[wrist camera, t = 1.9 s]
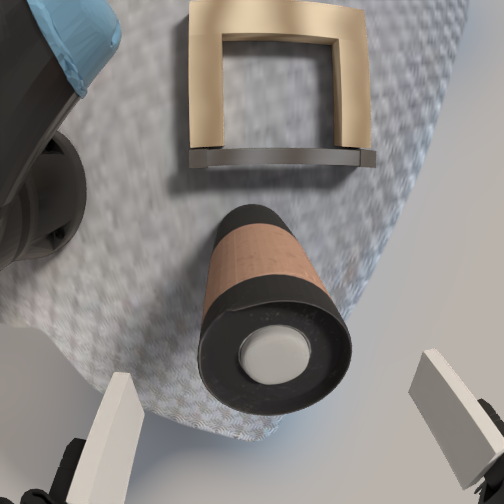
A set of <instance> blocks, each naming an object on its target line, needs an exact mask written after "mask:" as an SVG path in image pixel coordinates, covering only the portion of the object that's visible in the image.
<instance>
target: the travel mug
mask: <svg viewBox="0 0 504 504" xmlns="http://www.w3.org/2000/svg"><path fill="white" fill-rule="evenodd" d="M351 355H352V343H351V337H350V334H349V331H348V329H347V326H346V324H345V323H344V321H343V319H342V317H341V315H340V313H339V312H338V310H337V308H336V306H335V304H334V303H333V301H332V299H331V297H330V295H329V294H328V292H327V290H326V288H325V287H324V285H323V283H322V281H321V280H320V278H319V276H318V274H317V273H316V271H315V269H314V267H313V266H312V264H311V262H310V260H309V259H308V257H307V255H306V253H305V252H304V250H303V248H302V247H301V245H300V243H299V242H298V241H297V239H296V238H295V236H294V235H293V234H292V232H291V231H290V230H289V228H288V227H287V226H286V224H285V223H284V222H283V221H282V219H281V218H280V217H279V216H278V215H277V214H276V213H275V212H274V211H272V210H271V209H269V208H267V207H265V206H262V205H257V204H248V205H243V206H240V207H238V208H236V209H234V210H232V211H231V212H230V213H229V214H227V216H226V217H225V218H224V219H223V221H222V223H221V225H220V227H219V230H218V233H217V237H216V241H215V244H214V248H213V252H212V256H211V260H210V266H209V273H208V280H207V287H206V294H205V302H204V309H203V317H202V325H201V333H200V341H199V346H198V356H197V360H198V369H199V373H200V377H201V379H202V382H203V383H204V385H205V387H206V388H207V390H208V391H209V392H210V393H211V394H212V395H213V396H214V397H215V398H216V399H217V400H218V401H220V402H221V403H223V404H224V405H226V406H228V407H230V408H232V409H234V410H237V411H240V412H243V413H247V414H253V415H262V416H273V415H282V414H288V413H292V412H295V411H299V410H301V409H304V408H307V407H309V406H311V405H313V404H315V403H317V402H318V401H320V400H321V399H323V398H324V397H325V396H327V395H328V394H329V393H331V392H332V391H333V390H334V389H335V388H336V387H337V385H338V384H339V383H340V382H341V380H342V379H343V377H344V376H345V374H346V372H347V370H348V368H349V364H350V361H351Z"/></svg>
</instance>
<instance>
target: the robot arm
mask: <svg viewBox="0 0 504 504" xmlns="http://www.w3.org/2000/svg"><path fill="white" fill-rule="evenodd" d="M120 41H121V26H120V23H119V20H118V18H117V16H116V14H115V13H114V11H113V9H112V8H111V6H110V5H109V4H108V2H107V1H106V0H0V271H1V270H2V269H3V268H5V267H6V266H7V265H9V264H10V263H11V262H13V261H18V260H26V259H35V258H41V257H45V256H47V255H50V254H52V253H53V252H55V251H56V250H58V249H59V248H60V247H62V246H63V245H65V244H66V243H67V242H68V241H69V240H70V239H71V238H72V237H73V235H74V234H75V232H76V231H77V229H78V227H79V225H80V223H81V220H82V217H83V214H84V210H85V205H86V179H85V173H84V169H83V166H82V162H81V160H80V157H79V155H78V153H77V151H76V150H75V148H74V146H73V145H72V144H71V142H70V141H69V140H68V139H67V138H66V137H65V136H64V135H63V134H61V133H60V132H59V131H57V129H58V128H59V126H60V125H61V124H62V122H63V121H64V119H65V118H66V117H67V115H68V114H69V113H70V111H71V110H72V109H73V107H74V106H75V105H76V103H77V102H78V101H79V100H80V98H81V99H83V98H84V97H85V96H86V94H87V88H88V87H89V85H90V84H91V83H92V81H93V80H94V79H95V77H96V76H97V75H98V73H99V72H100V71H101V70H102V68H103V67H104V66H105V65H106V64H107V62H108V61H109V60H110V59H111V58H112V56H113V55H114V54H115V52H116V51H117V49H118V47H119V44H120ZM408 393H409V394H410V396H411V397H412V399H413V401H414V402H415V404H416V406H417V408H418V409H419V411H420V413H421V415H422V416H423V418H424V420H425V421H426V423H427V425H428V426H429V428H430V430H431V432H432V434H433V435H434V437H435V439H436V441H437V442H438V444H439V446H440V448H441V450H442V451H443V453H444V455H445V457H446V459H447V460H448V462H449V464H450V466H451V468H452V470H453V472H454V474H455V476H456V477H457V479H458V481H459V483H460V485H461V487H462V489H463V490H465V489H467V488H468V487H470V486H472V485H474V484H476V483H477V482H478V481H479V480H480V479H481V478H482V477H483V476H484V478H485V481H484V482H483V483H482V484H481V485H480V486H479V487H478V488H477V489H476V490H475V492H474V494H476V493H477V492H478V491H479V490H481V489H482V490H481V492H480V493H479V495H480V498H479V502H478V504H504V422H503V421H502V420H500V417H499V416H498V414H496V412H495V410H494V409H493V408H492V406H491V405H490V404H489V403H487V402H486V401H485V400H483V399H479V400H476V399H475V397H474V396H473V395H472V393H471V392H470V391H469V389H468V388H467V387H466V386H465V384H464V383H463V382H462V380H461V379H460V378H459V377H458V375H457V374H456V373H455V372H454V370H453V369H452V368H451V367H450V365H449V364H448V363H447V362H446V360H445V359H444V358H443V357H442V355H441V354H440V353H439V352H438V351H437V349H436V348H435V349H430V350H426V351H423V353H422V356H421V359H420V362H419V365H418V368H417V371H416V374H415V376H414V379H413V381H412V384H411V387H410V389H409V392H408ZM144 415H145V414H144V411H143V409H142V406H141V403H140V401H139V398H138V395H137V392H136V389H135V386H134V384H133V381H132V378H131V375H130V373H120V372H114V373H113V376H112V378H111V380H110V383H109V385H108V387H107V390H106V392H105V395H104V397H103V399H102V402H101V404H100V407H99V409H98V412H97V414H96V417H95V420H94V423H93V425H92V428H91V430H90V433H89V435H88V438H87V440H84V439H78V438H74V439H73V440H72V441H71V442H70V444H69V445H67V447H66V450H65V452H64V455H63V459H62V460H61V462H60V467H58V470H57V473H56V475H55V478H54V481H53V484H52V486H51V489H50V492H49V494H47V493H46V492H44V491H43V490H40V489H30V490H28V491H27V492H25V493H24V495H23V496H22V497H21V502H20V504H124V502H125V497H126V492H127V487H128V483H129V478H130V473H131V469H132V465H133V460H134V456H135V451H136V447H137V443H138V439H139V435H140V431H141V427H142V423H143V419H144ZM0 504H14V503H12V502H11V501H10V500H8V499H7V498H4V497H0Z"/></svg>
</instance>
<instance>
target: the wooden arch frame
mask: <svg viewBox="0 0 504 504" xmlns="http://www.w3.org/2000/svg"><path fill="white" fill-rule="evenodd" d="M222 41H286V42H302V43H314V44H324V45H331V48H332V67H333V94H334V146H343V147H360V148H371V104H370V76H369V59H368V45H367V34H366V24H365V15H364V10H360V9H355V8H349V7H344V6H337V5H331V4H323V3H315V2H306V1H295V0H199V1H190V8H189V123H190V148H193V147H210V146H224V111H223V46H222ZM188 152H189V168H205V167H208V166H221V165H250V164H325V165H354V166H359V167H371V168H376V151H372V150H364V149H351V148H347V150H342V149H317V148H240V149H214V150H210V148H204V149H192V150H188Z"/></svg>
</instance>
